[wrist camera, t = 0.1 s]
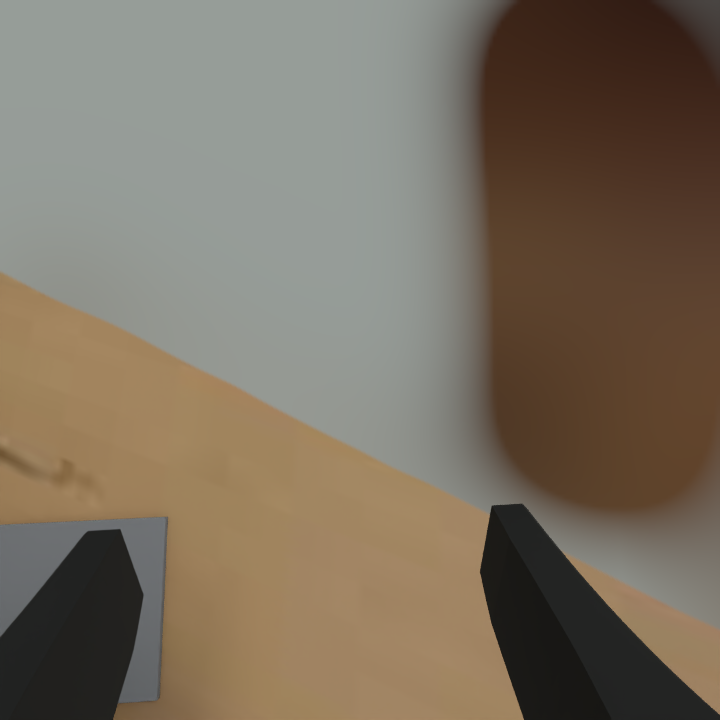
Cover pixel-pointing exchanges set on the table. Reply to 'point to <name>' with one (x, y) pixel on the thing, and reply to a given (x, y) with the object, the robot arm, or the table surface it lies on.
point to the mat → (50, 547)
